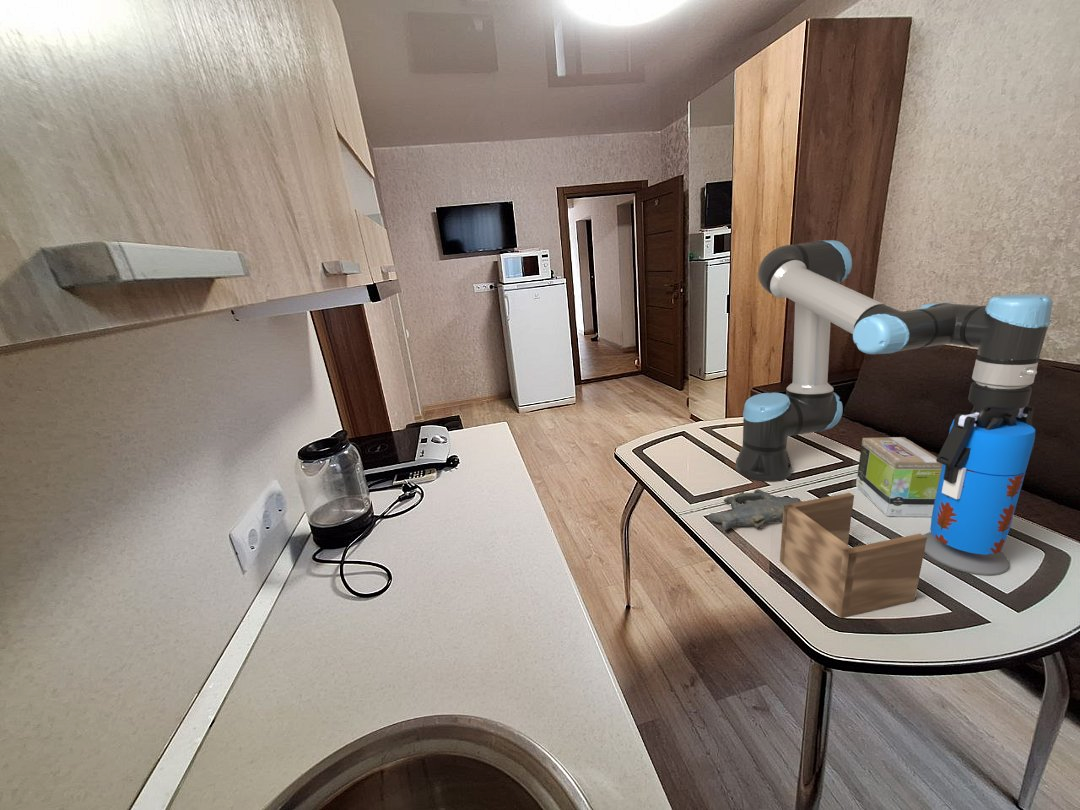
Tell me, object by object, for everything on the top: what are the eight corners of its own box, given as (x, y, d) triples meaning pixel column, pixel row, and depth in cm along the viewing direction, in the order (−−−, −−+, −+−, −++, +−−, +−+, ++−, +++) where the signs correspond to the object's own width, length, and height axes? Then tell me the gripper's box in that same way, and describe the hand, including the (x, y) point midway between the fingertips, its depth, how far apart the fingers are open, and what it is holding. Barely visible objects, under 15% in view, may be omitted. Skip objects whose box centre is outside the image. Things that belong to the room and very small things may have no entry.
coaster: (903, 540, 92) (903, 537, 91) (955, 530, 93) (955, 526, 93) (969, 581, 79) (970, 578, 79) (1027, 568, 81) (1028, 564, 80)
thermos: (915, 526, 90) (936, 418, 82) (961, 519, 90) (986, 411, 83) (968, 559, 80) (999, 439, 72) (1020, 550, 80) (1056, 431, 72)
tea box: (935, 518, 98) (946, 461, 93) (885, 517, 100) (894, 462, 95) (896, 485, 112) (905, 435, 107) (854, 486, 114) (860, 436, 109)
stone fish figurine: (819, 501, 101) (775, 479, 115) (725, 519, 97) (692, 495, 112) (819, 520, 102) (775, 496, 116) (726, 539, 98) (693, 512, 113)
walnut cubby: (779, 561, 90) (783, 505, 86) (842, 548, 92) (849, 492, 88) (840, 618, 75) (849, 553, 71) (914, 601, 77) (927, 537, 72)
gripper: (967, 398, 70) (944, 511, 77) (1084, 378, 73) (1052, 489, 79) (922, 387, 77) (905, 491, 84) (1030, 369, 80) (1004, 472, 86)
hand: (976, 490), depth 82 cm, fingers closed on thermos, 11 cm apart
